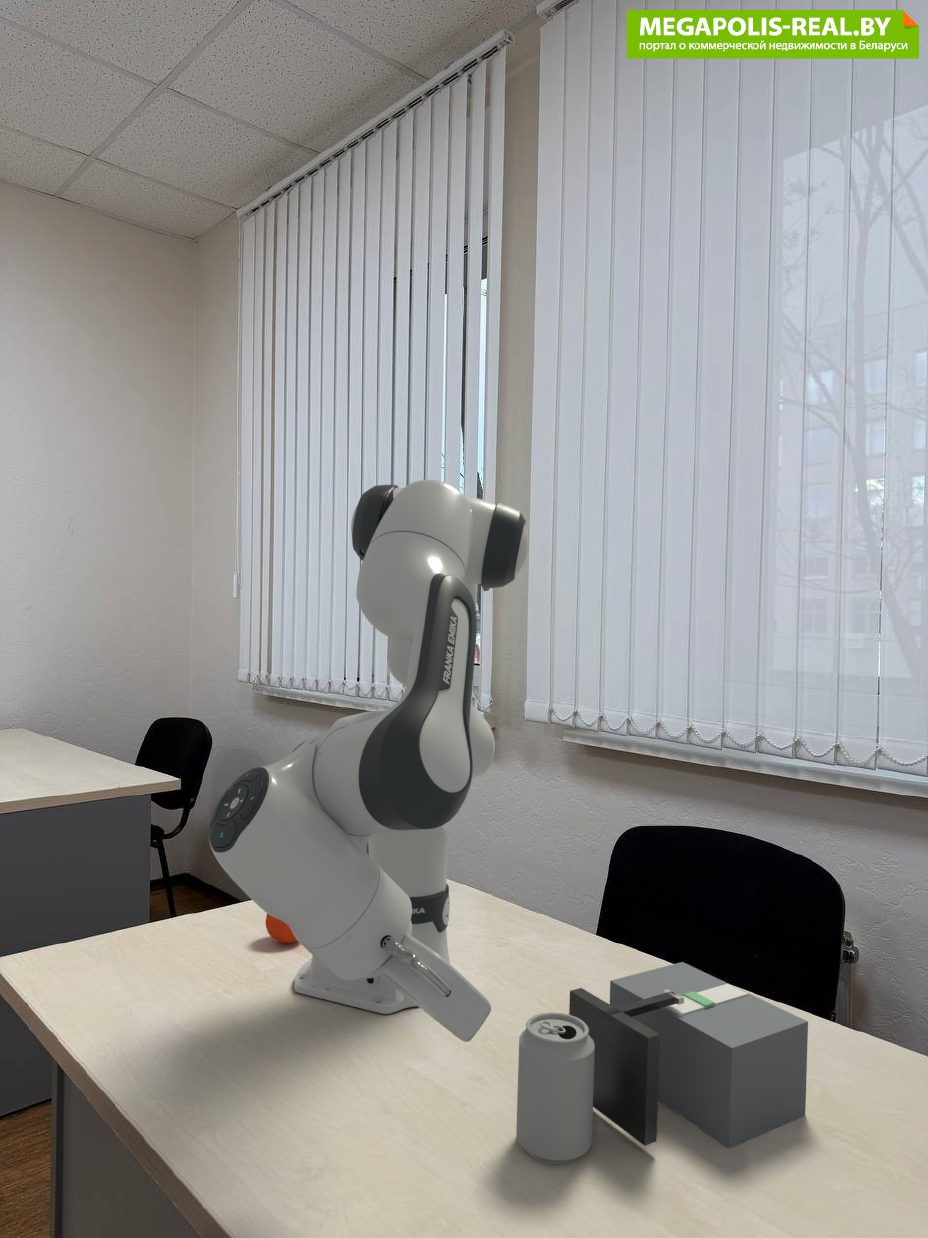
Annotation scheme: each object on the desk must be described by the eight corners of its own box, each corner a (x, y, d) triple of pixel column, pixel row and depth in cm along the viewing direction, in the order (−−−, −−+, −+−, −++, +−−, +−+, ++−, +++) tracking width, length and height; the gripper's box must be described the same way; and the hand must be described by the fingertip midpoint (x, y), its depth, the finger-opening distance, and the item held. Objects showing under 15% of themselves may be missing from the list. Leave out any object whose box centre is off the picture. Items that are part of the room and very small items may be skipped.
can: (589, 1175, 80) (593, 1047, 80) (510, 1163, 81) (514, 1037, 81) (593, 1129, 87) (597, 1012, 87) (521, 1118, 88) (524, 1003, 89)
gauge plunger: (644, 1146, 82) (648, 1038, 83) (566, 1087, 93) (569, 990, 93) (715, 1117, 88) (718, 1015, 88) (634, 1064, 98) (637, 973, 98)
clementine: (322, 937, 137) (323, 893, 137) (304, 953, 130) (306, 907, 130) (276, 932, 139) (278, 888, 139) (256, 947, 132) (258, 901, 132)
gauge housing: (729, 1148, 84) (732, 1044, 85) (607, 1065, 100) (610, 977, 100) (805, 1115, 91) (808, 1018, 91) (680, 1042, 106) (682, 958, 106)
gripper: (445, 930, 65) (543, 1029, 70) (337, 864, 82) (422, 948, 87) (392, 1000, 62) (497, 1098, 67) (291, 918, 80) (382, 1000, 85)
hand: (454, 1013), depth 78 cm, fingers closed
